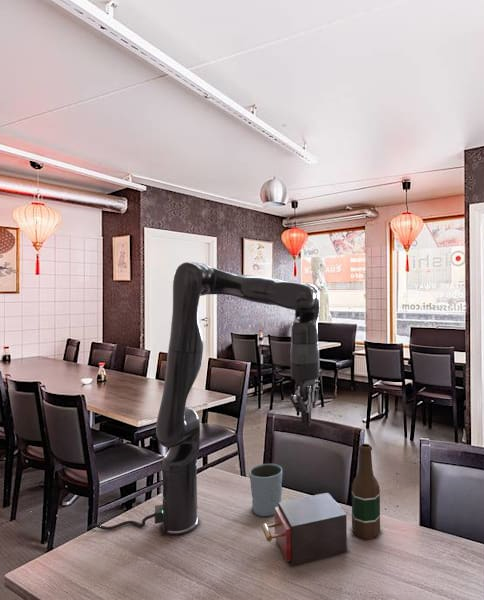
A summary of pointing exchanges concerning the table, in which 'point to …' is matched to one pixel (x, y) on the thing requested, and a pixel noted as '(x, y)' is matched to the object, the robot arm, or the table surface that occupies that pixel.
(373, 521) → the beer bottle
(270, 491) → the drinking glass
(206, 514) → the table surface
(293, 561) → the cabinet
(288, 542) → the drawer
